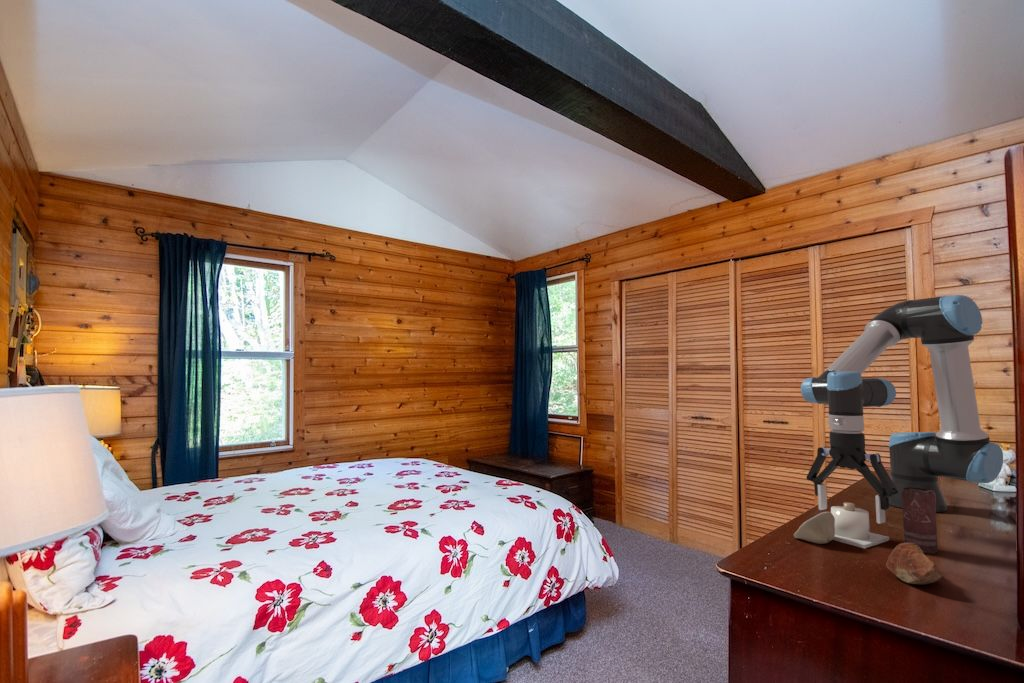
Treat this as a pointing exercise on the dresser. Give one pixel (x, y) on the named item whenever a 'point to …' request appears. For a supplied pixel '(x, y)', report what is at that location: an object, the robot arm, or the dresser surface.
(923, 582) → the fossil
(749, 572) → the dresser surface
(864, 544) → the mat
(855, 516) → the cloche
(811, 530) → the stone
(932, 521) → the can
